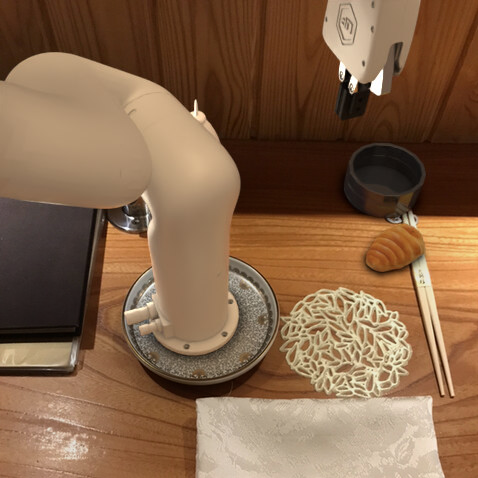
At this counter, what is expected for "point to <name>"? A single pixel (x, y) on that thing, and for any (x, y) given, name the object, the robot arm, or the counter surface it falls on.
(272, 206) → the counter surface
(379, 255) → the pastry
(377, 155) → the pot
